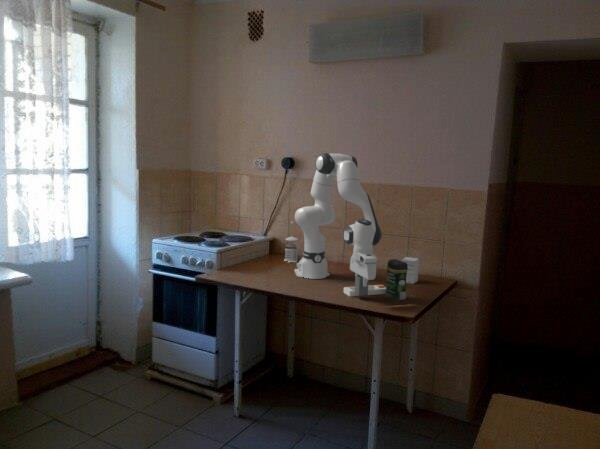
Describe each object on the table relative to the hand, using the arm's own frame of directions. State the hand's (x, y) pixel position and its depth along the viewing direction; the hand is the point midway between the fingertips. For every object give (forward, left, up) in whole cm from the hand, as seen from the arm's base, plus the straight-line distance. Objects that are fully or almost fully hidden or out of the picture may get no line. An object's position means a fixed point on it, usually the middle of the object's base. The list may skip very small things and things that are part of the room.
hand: (361, 284), depth 225 cm
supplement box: (-25, +41, -8) cm, 49 cm away
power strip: (-7, +6, -7) cm, 12 cm away
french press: (-86, -6, -8) cm, 87 cm away
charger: (0, 0, -5) cm, 5 cm away
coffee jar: (+2, +17, -8) cm, 19 cm away
